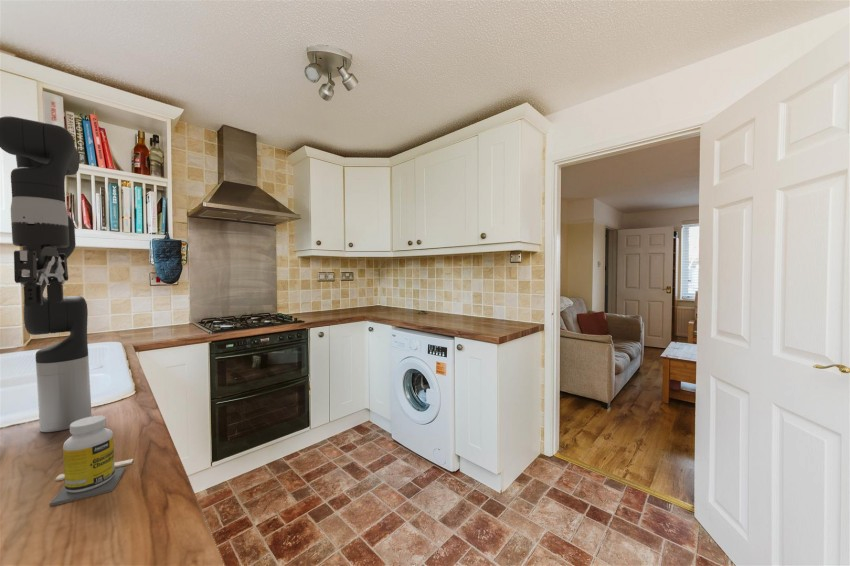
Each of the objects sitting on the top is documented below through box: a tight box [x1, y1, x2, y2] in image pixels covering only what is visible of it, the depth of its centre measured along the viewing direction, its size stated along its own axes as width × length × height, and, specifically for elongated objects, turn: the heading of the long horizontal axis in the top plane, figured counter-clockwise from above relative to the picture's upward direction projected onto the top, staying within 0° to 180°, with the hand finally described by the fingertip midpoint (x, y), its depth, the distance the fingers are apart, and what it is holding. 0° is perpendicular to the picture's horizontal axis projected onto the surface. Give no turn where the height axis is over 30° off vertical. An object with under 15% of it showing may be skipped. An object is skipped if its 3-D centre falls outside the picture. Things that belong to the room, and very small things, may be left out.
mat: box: [49, 466, 126, 507], centre depth 62 cm, size 8×8×1 cm
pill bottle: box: [62, 415, 116, 493], centre depth 61 cm, size 6×6×12 cm
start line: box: [54, 458, 134, 482], centre depth 67 cm, size 2×11×1 cm, turn 119°
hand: (45, 303), depth 68 cm, fingers open, 8 cm apart
